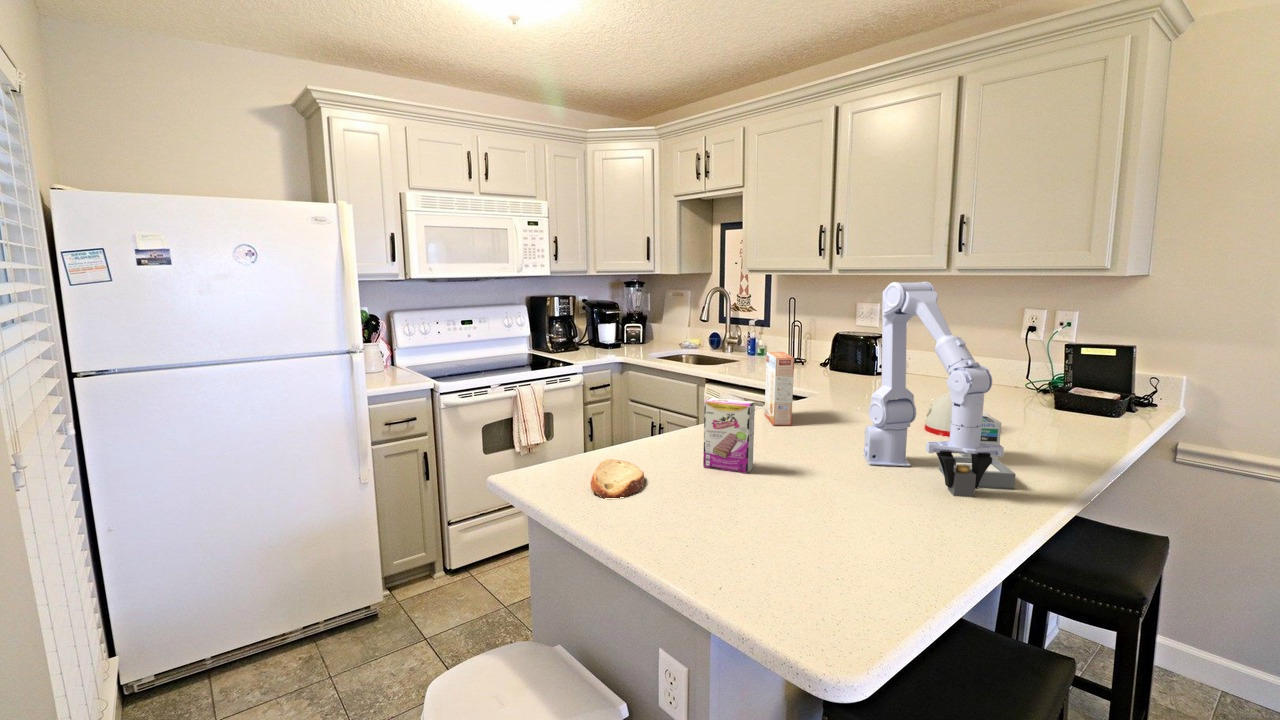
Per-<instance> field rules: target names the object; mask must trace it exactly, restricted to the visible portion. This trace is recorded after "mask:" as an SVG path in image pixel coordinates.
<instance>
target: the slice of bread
mask: <svg viewBox="0 0 1280 720" xmlns="http://www.w3.org/2000/svg"><path fill="white" fill-rule="evenodd" d="M644 484H645V474H644V471H643V470H641V469H640V468H639V467H638V466H637V465H635V464H634V463H631V462H628V461H625V460H624V461H623V460H619V459H610V458H609V459H608V458H607V459H604V460H603V461H602V462H601V463H599V465H598V466H597V467H596V469H595V471H594V473H593V474H592V477H591V480H590V489H591V491H592V492H593V493H594V494H596V496H598V497H599V496H601V497H604V498H603V499H605V498H620V497H626V496H627V497H629V496H630V494H631V495H633V494H636V493H637V491H638V492H640V489H641V488H642V489H643V487H644ZM642 486H643V487H642ZM642 489H641V490H642ZM635 492H636V493H635ZM632 493H633V494H632ZM628 495H629V496H628ZM601 497H600V498H601ZM627 497H626V498H627Z"/></svg>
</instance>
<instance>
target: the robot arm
mask: <svg viewBox="0 0 1280 720" xmlns="http://www.w3.org/2000/svg"><path fill="white" fill-rule="evenodd" d="M938 298H939V294H938V292H937V291H936V290H935V287H934V286H933V284H932V283H930V282H929V281H922V282H917V281H916V282H898V281H893V282H890V283H889V284H888V285H887V286H886V287H885V289H884V290H883V291H882V310H881V311H882V320H881V321H882V323H881V324H882V327H881V333H882V334H881V337H882V338H881V342H882V343H881V386H880V387H879V388H877V390H875V391H874V392H873V393H872V394H871V396H870V397H871V399H870V401H871V402H870V404H869V407H868V417H869V419H870V422H872V425H866V426H865V430H864V443H863V444H864V445H863V446H864V448H863V457H864V458H865V460H866V462H867V463H868V465H870V466H887V467H888V466H889V467H890V466H891V467H892V466H894V467H911V463H909V461H908V460H907V458H906V457H907V455H906V454H907V441H908V440H907V439H908V428H910V427H911V424H912V423H913V422H914V421H915V420H916V416H917V407H916V404H915V400H914V397H915V395H914V394H913V392H911V390H909V389H908V388H907V387H906V386H907V334H908V333H907V325H908V321H909V320H911V319H912V318H913V317H914V316H915V317H919V319H920V321H921V322H922V324H923V325H924V326H925V328H926V329H927V331H928V332H929V334H930V336H931V337H932V338H933V339H934V341H935V342H936V343H935V344H936V345H935V347H934V351H935V354H936V356H937V357H938V359H939V361H940V362H941V365H942V366H943V367H944V369H945V371H946V373H947V375H948V378H946V385H947V389H948V391H949V392H950V399H951V402H952V414H951V426H950V437H949V440H941V441H926V444H925V445H926V446H925V451H926V452H927V453H928V454H935V453H936V455H937V458H938V460H939V462H940V463H941V466H942V469H943V473H944V475H943V476H944V485H945V486H946V487H947V489H948V488H952V481H953V469H954V464H955V461H956V460H955V459H954V458H953V456H954V455H953V454H959V455H960V454H971V457H972V471H973V472H974V473H975V474H976V483H975V490H978V489H979V488H978V486H979V483H980V480H981V478H982V476H983V474H984V472H985V471H986V469H987V468H988V467H989V465H990V464H991V463H992V458H991V457H990V455H997V456H999V457H1004V449H1005V448H1004V446H1003V445H1001V444H1000V445H995V444H986V443H980V440H981V428H982V416H983V413H984V402H985V394H986V393H988V392H989V391H990V390H991V389H992V386H993V377H992V374H991V372H990V370H989V368H987V366H983V365H981V364H980V363H979V362H977V361H975V359H974V357H973V355H972V353H971V352H970V350H969V349H968V347H967V344H966V341H965V340H964V339H962V338H961V337H959V336H956V335H953V333H952V332H951V329H950V328H949V325H948V324H947V321H946V319H945V317H944V315H943V313H942V311H941V309H940V307H939V305H938Z"/></svg>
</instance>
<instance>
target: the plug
mask: <svg viewBox="0 0 1280 720" xmlns="http://www.w3.org/2000/svg"><path fill="white" fill-rule="evenodd" d="M975 483H976V474H975V473H974V472H973V471H972V470H971V469H970V468H969V466H967V465H963V464H958V465H956V467H954V469H953V481H952V488H948V487H947V490H948V491H949V492H950V493H951V495H952V496H953V497H960V498H961V497H964V498H975V494H976V493H975V492H976V489H975Z"/></svg>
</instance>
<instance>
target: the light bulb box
mask: <svg viewBox="0 0 1280 720" xmlns="http://www.w3.org/2000/svg"><path fill="white" fill-rule="evenodd" d="M1001 432H1002V422H1001V421H1000V420H998V419H996V418H994V417H992V416H991V415H990V414H989V413H987V412H983V416H982V428H981V440H980V443H986V444H995V445H1001ZM959 455H960V457H971V454H959ZM990 457H991V458H996V459H997V460H998V461H1000V460H999V457H1000V456H997V455H990Z"/></svg>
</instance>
